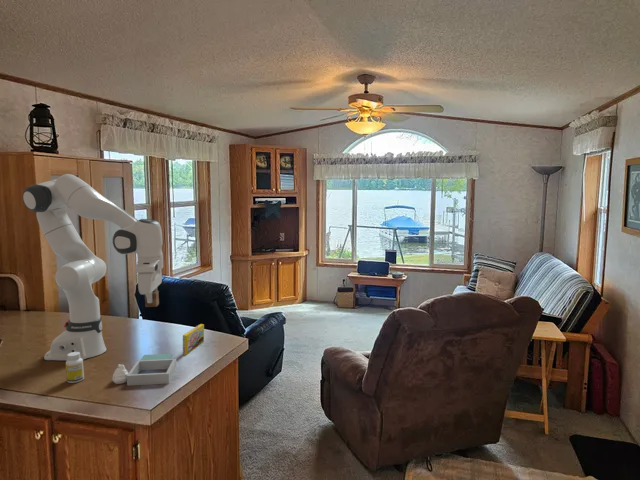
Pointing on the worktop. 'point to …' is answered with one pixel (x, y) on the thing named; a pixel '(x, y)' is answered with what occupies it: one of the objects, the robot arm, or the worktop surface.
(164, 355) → the teal tile
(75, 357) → the supplement bottle
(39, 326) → the worktop surface
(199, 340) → the candy box
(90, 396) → the worktop surface
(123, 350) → the worktop surface
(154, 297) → the walnut block
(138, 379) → the grey bin
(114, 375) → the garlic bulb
